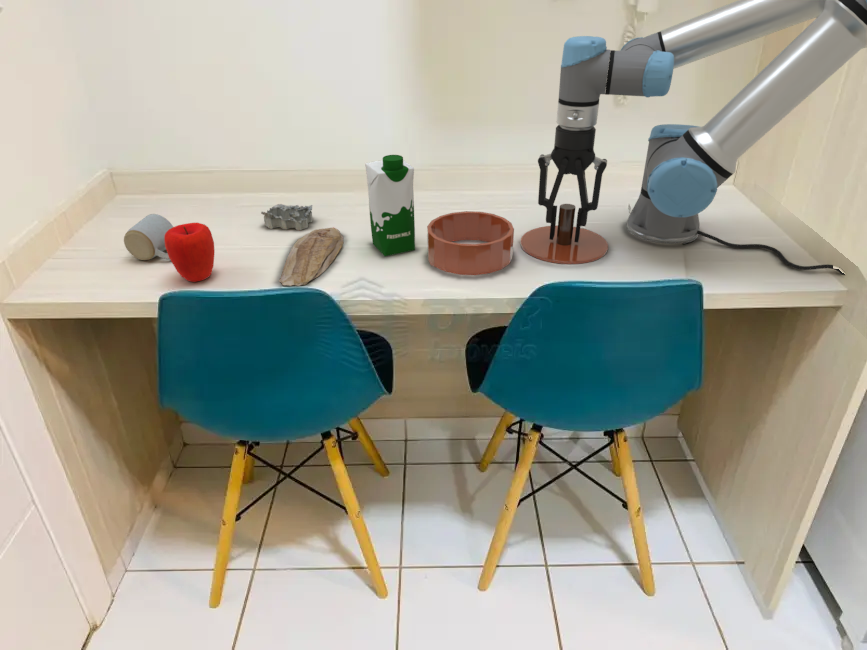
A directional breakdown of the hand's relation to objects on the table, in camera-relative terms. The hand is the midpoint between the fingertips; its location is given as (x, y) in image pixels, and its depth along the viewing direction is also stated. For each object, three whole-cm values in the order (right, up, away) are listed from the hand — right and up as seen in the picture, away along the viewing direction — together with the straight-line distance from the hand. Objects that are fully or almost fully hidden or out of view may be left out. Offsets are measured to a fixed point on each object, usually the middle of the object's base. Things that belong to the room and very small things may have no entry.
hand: (564, 238), depth 132 cm
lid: (0, -1, +1) cm, 2 cm away
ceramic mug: (-86, -3, +1) cm, 86 cm away
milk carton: (-36, -2, +3) cm, 36 cm away
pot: (-20, -4, -3) cm, 21 cm away
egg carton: (-61, +5, +14) cm, 63 cm away
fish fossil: (-53, -4, -1) cm, 53 cm away
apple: (-74, -9, -8) cm, 75 cm away
